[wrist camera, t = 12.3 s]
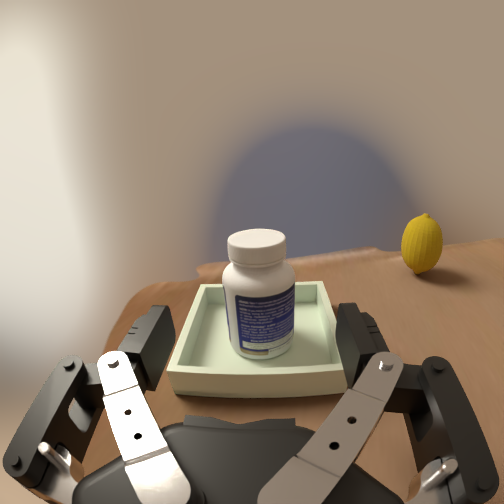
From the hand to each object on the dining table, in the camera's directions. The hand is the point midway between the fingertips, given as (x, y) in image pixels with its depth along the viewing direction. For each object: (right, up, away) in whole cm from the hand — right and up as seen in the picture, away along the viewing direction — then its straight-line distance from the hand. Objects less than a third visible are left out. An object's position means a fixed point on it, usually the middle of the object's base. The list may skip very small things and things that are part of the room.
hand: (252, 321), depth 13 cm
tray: (+1, -4, +10) cm, 11 cm away
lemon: (+21, 0, +19) cm, 29 cm away
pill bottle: (+1, -4, +10) cm, 11 cm away
